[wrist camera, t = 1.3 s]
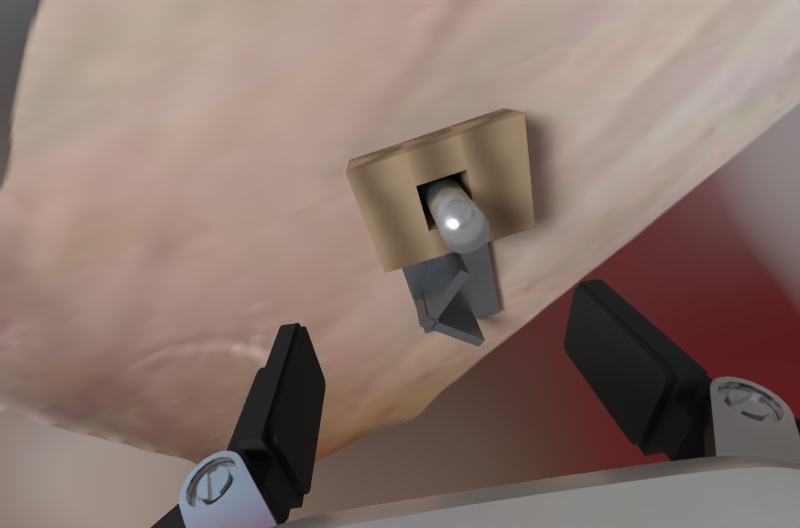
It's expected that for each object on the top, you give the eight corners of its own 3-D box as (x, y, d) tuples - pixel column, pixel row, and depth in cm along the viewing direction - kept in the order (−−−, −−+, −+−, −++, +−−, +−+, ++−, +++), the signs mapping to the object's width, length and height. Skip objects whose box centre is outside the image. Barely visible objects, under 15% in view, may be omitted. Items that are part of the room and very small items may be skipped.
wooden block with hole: (503, 108, 31) (524, 112, 27) (515, 209, 36) (535, 227, 32) (349, 160, 32) (345, 172, 28) (383, 250, 38) (385, 273, 33)
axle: (449, 165, 33) (485, 203, 23) (456, 196, 35) (493, 245, 25) (417, 176, 34) (437, 218, 23) (425, 206, 35) (448, 259, 25)
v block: (497, 307, 43) (514, 338, 38) (424, 328, 44) (431, 361, 39) (483, 231, 37) (501, 255, 32) (399, 257, 38) (403, 285, 33)
